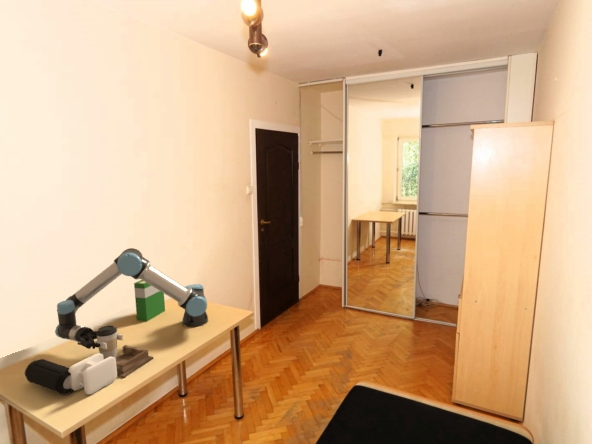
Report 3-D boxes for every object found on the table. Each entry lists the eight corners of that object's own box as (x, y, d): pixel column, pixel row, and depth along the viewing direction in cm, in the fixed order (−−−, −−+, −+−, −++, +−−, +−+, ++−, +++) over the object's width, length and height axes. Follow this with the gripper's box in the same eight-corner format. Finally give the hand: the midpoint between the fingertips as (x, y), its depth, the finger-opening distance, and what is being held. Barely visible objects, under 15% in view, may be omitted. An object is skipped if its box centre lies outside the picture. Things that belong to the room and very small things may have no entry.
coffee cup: (99, 354, 181) (96, 325, 179) (119, 350, 185) (117, 322, 182) (97, 362, 173) (94, 332, 171) (118, 358, 176) (116, 329, 174)
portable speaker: (84, 387, 157) (81, 365, 156) (61, 400, 148) (58, 377, 147) (47, 374, 168) (44, 354, 167) (23, 386, 159) (21, 364, 158)
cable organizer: (85, 399, 149) (82, 372, 148) (69, 392, 154) (66, 366, 152) (118, 380, 162) (115, 355, 161) (102, 374, 167) (100, 350, 166)
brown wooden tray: (97, 370, 170) (96, 360, 169) (128, 352, 187) (127, 343, 186) (123, 378, 164) (122, 367, 163) (153, 358, 180) (152, 349, 180)
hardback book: (155, 309, 244) (153, 275, 241) (165, 310, 242) (162, 275, 239) (137, 320, 228) (134, 283, 224) (147, 321, 225) (144, 284, 222)
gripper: (100, 332, 195) (132, 339, 186) (61, 351, 175) (95, 359, 166) (99, 319, 194) (131, 325, 185) (60, 336, 174) (93, 344, 165)
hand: (114, 341), depth 176 cm, fingers closed on coffee cup, 9 cm apart
